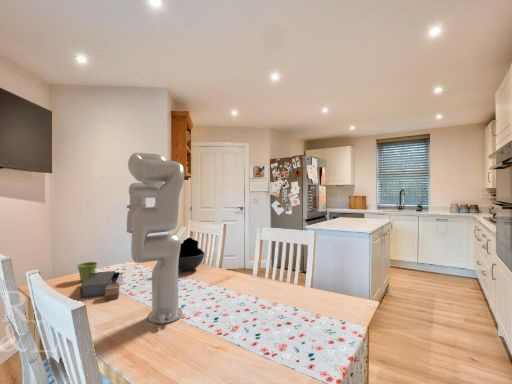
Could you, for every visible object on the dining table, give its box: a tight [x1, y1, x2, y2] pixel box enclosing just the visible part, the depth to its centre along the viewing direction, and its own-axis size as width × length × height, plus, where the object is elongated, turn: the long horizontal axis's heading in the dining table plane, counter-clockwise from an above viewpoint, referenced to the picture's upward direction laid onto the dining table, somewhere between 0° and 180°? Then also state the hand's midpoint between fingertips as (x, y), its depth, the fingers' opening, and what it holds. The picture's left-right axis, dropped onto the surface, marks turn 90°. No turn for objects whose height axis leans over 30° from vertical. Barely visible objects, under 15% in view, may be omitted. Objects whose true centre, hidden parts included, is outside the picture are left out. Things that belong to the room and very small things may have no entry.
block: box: [104, 284, 120, 301], centre depth 124 cm, size 5×5×5 cm
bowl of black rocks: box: [178, 237, 205, 272], centre depth 165 cm, size 20×20×19 cm
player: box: [79, 270, 123, 299], centre depth 135 cm, size 20×15×5 cm
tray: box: [112, 273, 123, 288], centre depth 135 cm, size 14×14×4 cm
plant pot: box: [76, 261, 99, 283], centre depth 147 cm, size 9×9×9 cm
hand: (138, 243), depth 140 cm, fingers closed
